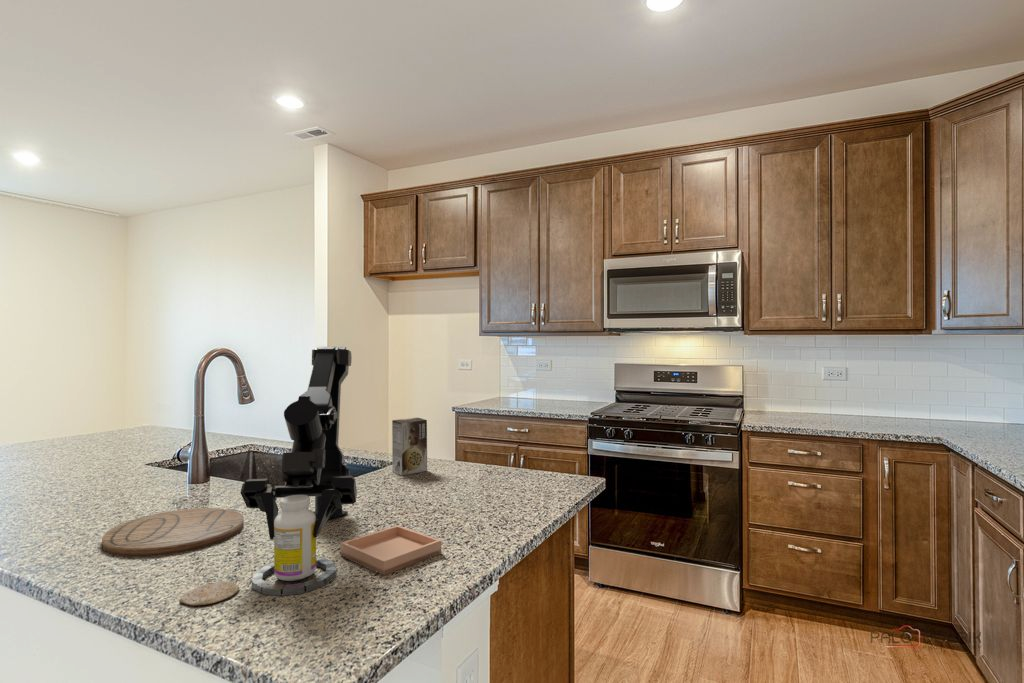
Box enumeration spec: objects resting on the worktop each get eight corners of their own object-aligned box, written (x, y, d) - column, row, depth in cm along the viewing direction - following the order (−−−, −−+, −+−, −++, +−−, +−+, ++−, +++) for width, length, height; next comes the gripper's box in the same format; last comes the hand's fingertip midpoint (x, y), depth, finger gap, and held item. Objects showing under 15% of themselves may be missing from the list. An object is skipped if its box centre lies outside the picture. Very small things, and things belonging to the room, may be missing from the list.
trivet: (248, 511, 130) (248, 503, 130) (237, 548, 107) (237, 538, 107) (123, 523, 121) (123, 515, 121) (81, 566, 98) (81, 555, 98)
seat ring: (238, 579, 92) (238, 573, 92) (310, 556, 102) (310, 551, 102) (276, 603, 84) (276, 596, 84) (350, 576, 94) (350, 570, 94)
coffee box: (417, 467, 175) (417, 417, 175) (427, 471, 170) (428, 419, 170) (391, 471, 169) (391, 419, 169) (401, 475, 164) (401, 422, 164)
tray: (340, 555, 102) (340, 542, 102) (397, 536, 112) (397, 525, 112) (384, 575, 94) (384, 561, 94) (441, 553, 104) (441, 540, 104)
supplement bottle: (303, 562, 98) (303, 490, 98) (323, 572, 93) (324, 497, 93) (266, 574, 93) (266, 498, 92) (286, 586, 88) (286, 506, 88)
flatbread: (226, 581, 92) (226, 575, 92) (246, 595, 87) (246, 589, 87) (172, 598, 86) (172, 592, 86) (190, 614, 81) (190, 607, 81)
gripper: (244, 433, 95) (221, 517, 84) (355, 431, 98) (347, 511, 87) (257, 467, 103) (237, 549, 92) (359, 464, 106) (352, 542, 95)
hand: (293, 537), depth 92 cm, fingers closed on supplement bottle, 7 cm apart
